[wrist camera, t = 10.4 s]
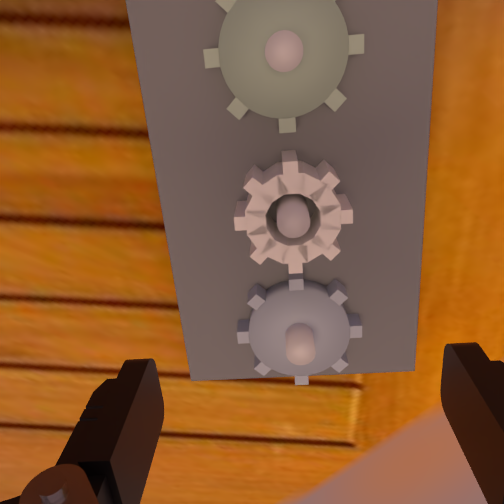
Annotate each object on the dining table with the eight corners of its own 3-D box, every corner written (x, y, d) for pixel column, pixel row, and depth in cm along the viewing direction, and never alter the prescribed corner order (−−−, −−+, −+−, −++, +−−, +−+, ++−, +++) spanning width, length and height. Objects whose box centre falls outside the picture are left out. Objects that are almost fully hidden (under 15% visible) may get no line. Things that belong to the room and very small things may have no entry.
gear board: (128, -25, 25) (96, -42, 20) (432, -59, 24) (470, -85, 19) (194, 367, 35) (182, 415, 31) (408, 358, 34) (429, 405, 29)
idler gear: (232, 154, 27) (228, 166, 24) (344, 145, 27) (352, 157, 24) (242, 255, 30) (239, 276, 27) (345, 249, 29) (352, 270, 26)
